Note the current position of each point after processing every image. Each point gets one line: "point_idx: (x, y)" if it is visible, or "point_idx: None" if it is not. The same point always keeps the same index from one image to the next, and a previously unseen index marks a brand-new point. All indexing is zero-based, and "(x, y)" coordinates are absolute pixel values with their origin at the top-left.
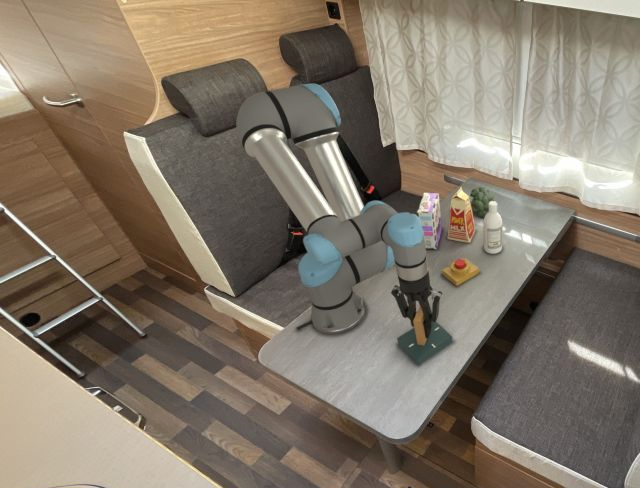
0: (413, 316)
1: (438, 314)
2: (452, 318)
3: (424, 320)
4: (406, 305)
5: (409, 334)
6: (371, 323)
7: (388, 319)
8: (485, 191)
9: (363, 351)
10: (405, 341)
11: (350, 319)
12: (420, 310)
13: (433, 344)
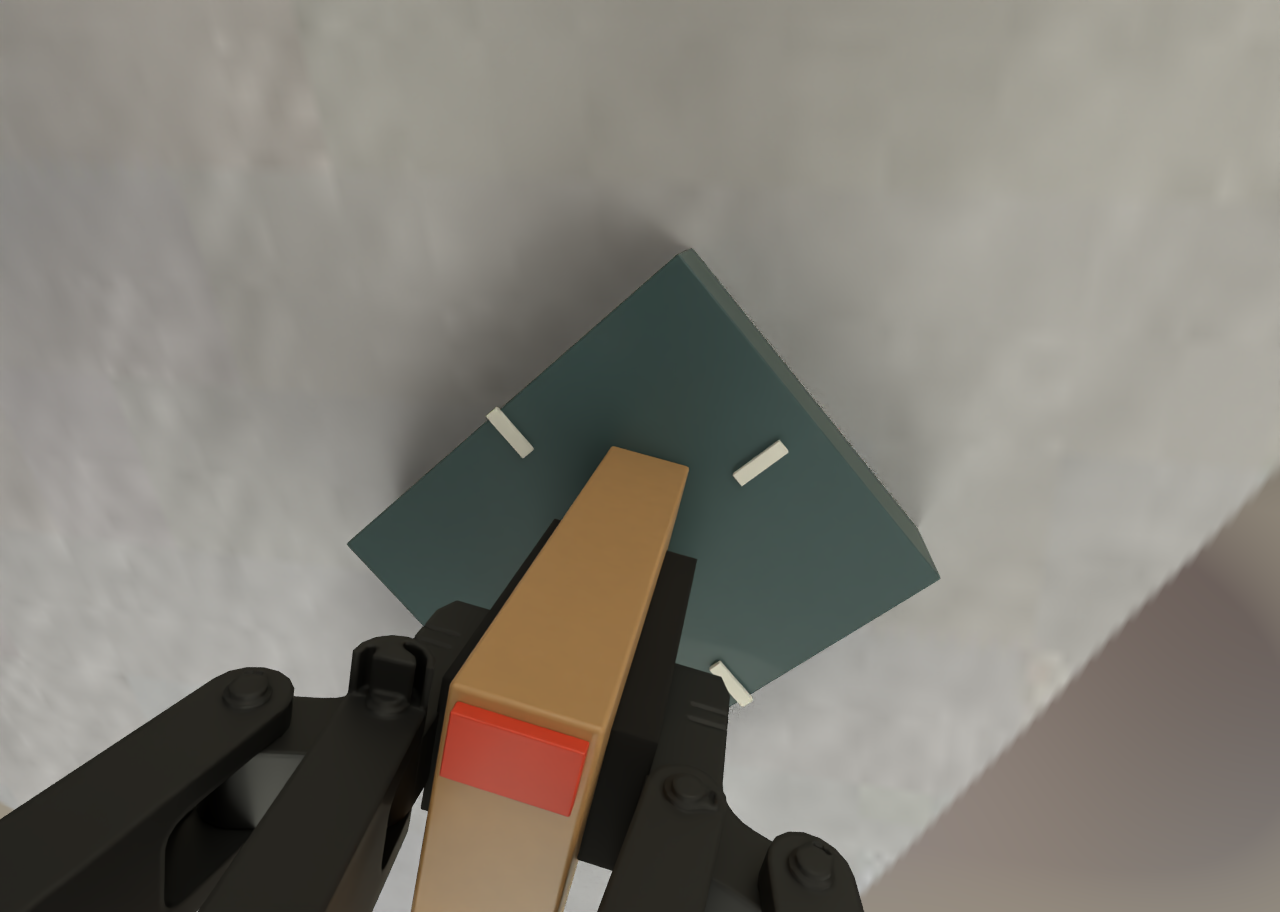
0: (384, 875)
1: (855, 892)
2: (945, 166)
3: (594, 820)
4: (122, 878)
5: (461, 508)
6: (74, 215)
7: (213, 161)
8: None
9: (140, 540)
10: (439, 593)
11: None
12: (478, 829)
13: (729, 665)
